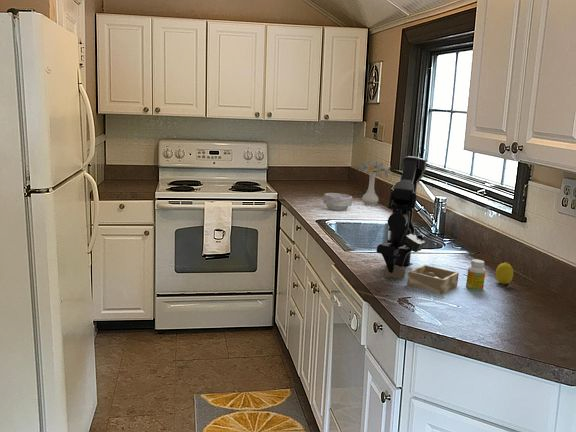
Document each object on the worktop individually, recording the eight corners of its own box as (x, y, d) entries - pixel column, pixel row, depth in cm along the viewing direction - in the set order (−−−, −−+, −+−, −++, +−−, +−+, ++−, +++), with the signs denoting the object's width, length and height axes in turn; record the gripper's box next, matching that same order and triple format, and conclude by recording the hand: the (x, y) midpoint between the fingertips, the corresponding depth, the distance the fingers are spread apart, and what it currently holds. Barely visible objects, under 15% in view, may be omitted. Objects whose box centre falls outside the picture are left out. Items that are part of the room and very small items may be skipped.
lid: (386, 272, 208) (388, 259, 207) (419, 280, 200) (421, 267, 200) (369, 279, 198) (370, 265, 197) (402, 288, 191) (404, 274, 190)
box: (422, 278, 200) (424, 264, 199) (456, 287, 193) (458, 272, 192) (406, 286, 191) (408, 271, 190) (442, 295, 184) (443, 280, 183)
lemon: (497, 281, 203) (500, 259, 202) (513, 285, 200) (517, 262, 198) (491, 284, 199) (494, 261, 197) (508, 288, 196) (511, 265, 194)
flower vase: (390, 207, 334) (394, 163, 329) (359, 206, 329) (363, 161, 324) (380, 203, 346) (384, 160, 341) (351, 202, 341) (354, 159, 336)
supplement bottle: (471, 292, 189) (475, 263, 187) (462, 287, 194) (465, 258, 192) (486, 292, 190) (490, 263, 188) (476, 287, 195) (480, 258, 193)
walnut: (427, 279, 198) (428, 270, 197) (436, 282, 196) (437, 272, 195) (422, 281, 195) (423, 272, 194) (432, 284, 193) (433, 274, 192)
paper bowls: (356, 209, 320) (357, 195, 318) (343, 213, 307) (344, 198, 305) (331, 205, 328) (332, 191, 326) (317, 209, 315) (318, 194, 313)
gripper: (409, 233, 183) (404, 282, 187) (434, 225, 198) (429, 270, 201) (377, 227, 190) (373, 274, 193) (404, 220, 205) (399, 263, 208)
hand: (395, 270), depth 199 cm, fingers open, 6 cm apart
